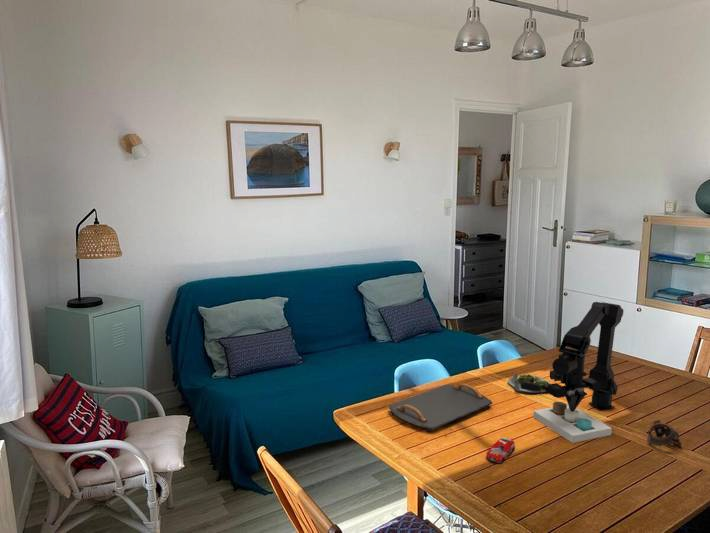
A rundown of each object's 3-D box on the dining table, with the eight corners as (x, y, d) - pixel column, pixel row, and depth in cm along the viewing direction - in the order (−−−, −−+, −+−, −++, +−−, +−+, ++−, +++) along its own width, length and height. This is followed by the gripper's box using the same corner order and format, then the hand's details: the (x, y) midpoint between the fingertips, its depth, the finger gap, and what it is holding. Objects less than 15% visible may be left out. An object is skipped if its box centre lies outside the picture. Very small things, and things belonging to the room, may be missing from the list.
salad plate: (496, 379, 229) (497, 369, 228) (534, 375, 232) (535, 365, 232) (520, 397, 210) (520, 386, 209) (560, 393, 214) (561, 382, 213)
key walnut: (560, 409, 193) (560, 400, 193) (569, 414, 189) (569, 405, 189) (549, 411, 192) (550, 402, 191) (558, 416, 188) (559, 407, 187)
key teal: (584, 426, 182) (584, 417, 182) (594, 432, 178) (594, 423, 178) (573, 428, 181) (573, 419, 180) (583, 434, 177) (583, 425, 176)
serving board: (452, 388, 219) (452, 374, 218) (498, 407, 201) (499, 391, 200) (381, 415, 195) (381, 399, 194) (427, 439, 178) (427, 421, 177)
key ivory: (571, 416, 188) (572, 407, 187) (581, 421, 183) (582, 412, 183) (561, 418, 186) (561, 409, 186) (570, 423, 182) (571, 414, 181)
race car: (499, 466, 160) (500, 454, 159) (483, 460, 164) (483, 448, 163) (517, 449, 170) (518, 437, 169) (501, 444, 173) (502, 432, 173)
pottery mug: (689, 453, 167) (682, 435, 165) (658, 463, 170) (651, 445, 167) (670, 427, 178) (664, 409, 175) (642, 436, 181) (635, 419, 178)
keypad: (569, 410, 197) (569, 404, 197) (611, 435, 179) (611, 428, 178) (533, 417, 192) (533, 410, 192) (572, 443, 173) (572, 435, 173)
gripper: (580, 357, 192) (577, 398, 195) (536, 363, 186) (534, 405, 189) (603, 367, 182) (600, 410, 185) (558, 374, 176) (555, 418, 179)
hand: (572, 410), depth 184 cm, fingers closed
